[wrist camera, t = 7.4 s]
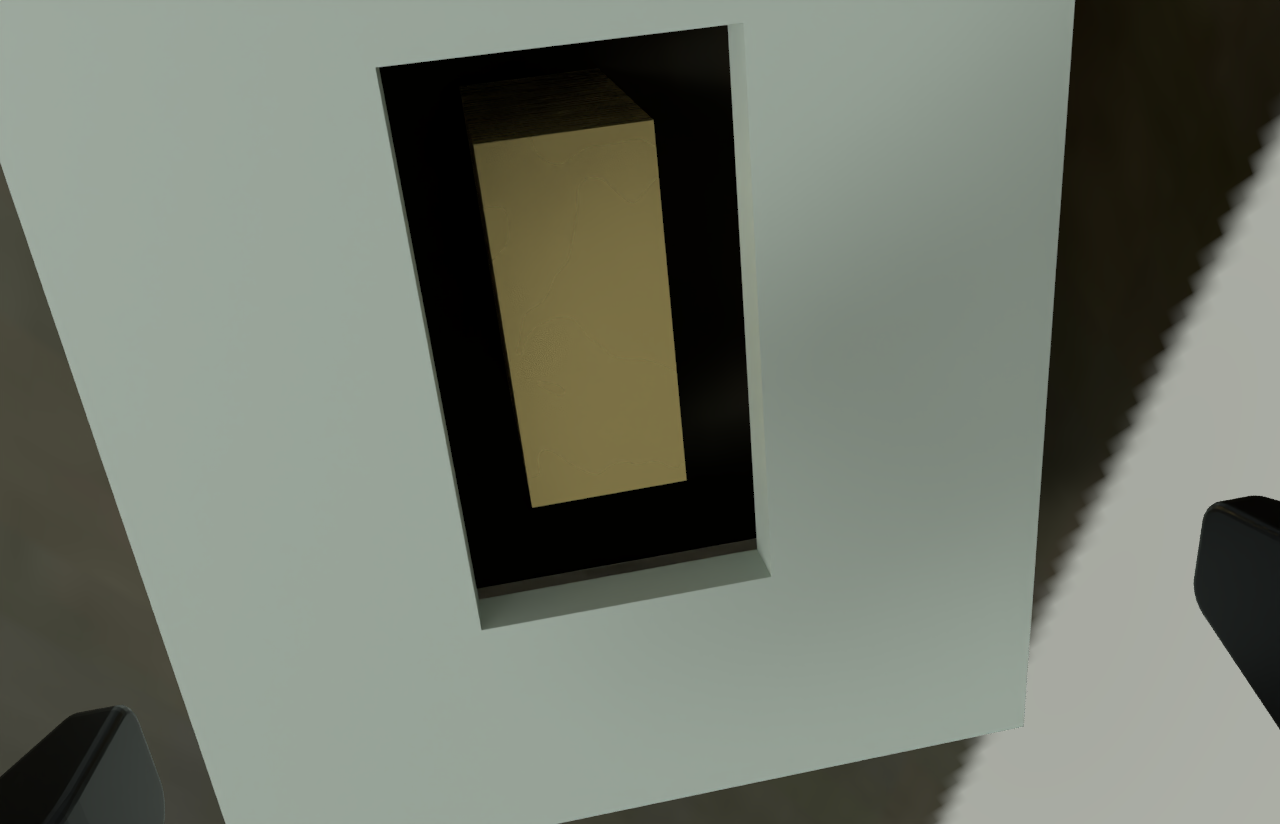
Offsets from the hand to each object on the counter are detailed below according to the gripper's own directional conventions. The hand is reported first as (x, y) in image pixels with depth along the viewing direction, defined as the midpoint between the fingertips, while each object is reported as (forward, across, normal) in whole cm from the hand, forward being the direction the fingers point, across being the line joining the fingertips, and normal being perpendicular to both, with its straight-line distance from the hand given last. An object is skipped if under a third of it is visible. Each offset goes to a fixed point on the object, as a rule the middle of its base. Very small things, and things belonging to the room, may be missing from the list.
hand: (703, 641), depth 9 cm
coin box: (+12, 0, 0) cm, 12 cm away
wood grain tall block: (+12, 0, 0) cm, 13 cm away
